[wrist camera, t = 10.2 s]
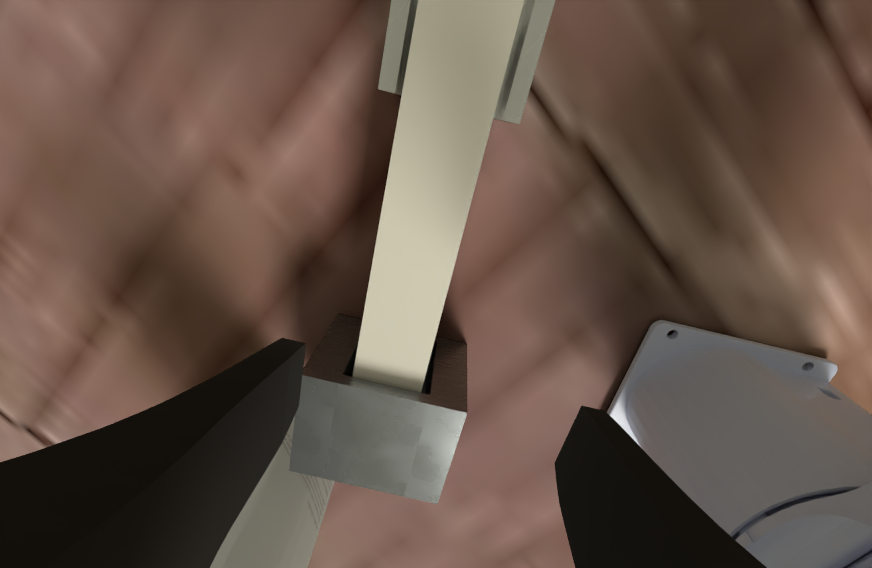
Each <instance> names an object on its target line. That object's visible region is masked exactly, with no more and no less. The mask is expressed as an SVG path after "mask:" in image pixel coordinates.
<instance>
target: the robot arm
mask: <svg viewBox="0 0 872 568" xmlns="http://www.w3.org/2000/svg"><path fill="white" fill-rule="evenodd" d="M671 330H674V333H673V334H671V335H667V333H668V332H669V331H671ZM305 347H306V343H302V342H298V341H293V340H289V339H285V338H281V339H279V340H277V341H276V342H274V343H272V344H270V345H269V346H267V347H265V348H263V349H262V350H260V351H258V352H257V353H255V354H253V355H251V356H250V357H248V358H246V359H245V360H243V361H241V362H239V363H238V364H236V365H234V366H232V367H231V368H229V369H227V370H225V371H223V372H222V373H220V374H218V375H216V376H214V377H213V378H211V379H209V380H207V381H205V382H203V383H201V384H199V385H197V386H195V387H193V388H191V389H189V390H187V391H185V392H183V393H181V394H179V395H177V396H175V397H173V398H171V399H169V400H167V401H165V402H162V403H160V404H158V405H156V406H154V407H151V408H149V409H147V410H145V411H142V412H140V413H138V414H135V415H133V416H130V417H128V418H125V419H123V420H121V421H118V422H116V423H113V424H111V425H108V426H106V427H103V428H100V429H98V430H95V431H92V432H89V433H86V434H84V435H81V436H78V437H75V438H72V439H69V440H67V441H64V442H61V443H58V444H55V445H52V446H50V447H47V448H44V449H41V450H38V451H35V452H32V453H29V454H26V455H23V456H20V457H16V458H13V459H10V460H7V461H3V462H0V568H210V566H211V564H212V562H213V560H214V558H215V556H216V554H217V552H218V550H219V549H220V547H221V545H222V543H223V541H224V540H225V538H226V536H227V534H228V532H229V531H230V529H231V527H232V526H233V524H234V522H235V521H236V519H237V517H238V516H239V514H240V512H241V511H242V509H243V507H244V506H245V504H246V502H247V501H248V499H249V498H250V496H251V494H252V493H253V491H254V489H255V488H256V486H257V484H258V483H259V481H260V479H261V478H262V476H263V474H264V473H265V471H266V469H267V468H268V466H269V464H270V463H271V461H272V459H273V458H274V456H275V454H276V453H277V451H278V449H279V448H280V446H281V444H282V443H283V440H284V438H285V436H286V434H287V432H288V430H289V428H290V425H291V423H292V421H293V419H294V416H295V414H296V412H297V410H298V407H299V401H300V392H301V383H302V374H303V365H304V356H305ZM805 363H807V364H806V365H805V366H803V365H804V364H805ZM836 372H837V365H836V364H835V363H833V362H832V361H830V360H828V359H825V358H820V357H816V356H812V355H808V354H804V353H799V352H795V351H791V350H787V349H783V348H778V347H774V346H770V345H766V344H762V343H757V342H753V341H749V340H745V339H741V338H737V337H732V336H728V335H724V334H720V333H716V332H711V331H707V330H703V329H699V328H695V327H690V326H686V325H682V324H678V323H674V322H669V321H665V320H659V321H656V322H654V323H653V324H652V325H651V326H650V328H649V330H648V332H647V334H646V336H645V338H644V340H643V342H642V344H641V346H640V348H639V350H638V352H637V354H636V356H635V357H634V359H633V361H632V363H631V365H630V367H629V369H628V371H627V373H626V375H625V377H624V379H623V381H622V383H621V385H620V387H619V389H618V391H617V393H616V395H615V397H614V399H613V401H612V403H611V405H610V407H609V409H608V411H607V413H606V412H605V411H603V410H599V409H594V408H590V407H585V406H581V408H580V410H579V412H578V415H577V417H576V419H575V421H574V423H573V425H572V427H571V429H570V432H569V434H568V436H567V438H566V440H565V442H564V444H563V446H562V449H561V451H560V453H559V455H558V457H557V459H556V461H555V471H556V481H557V489H558V496H559V503H560V508H561V512H562V516H563V520H564V524H565V528H566V532H567V537H568V540H569V544H570V548H571V552H572V556H573V560H574V564H575V568H872V414H870V413H869V412H868V411H866V410H865V409H863V408H862V407H861V406H859V405H858V404H857V403H855V402H854V401H853V400H851V399H850V398H849V397H847V396H846V395H845V394H843V393H842V392H840V391H839V390H838V389H836V388H835V387H834V386H832V385H831V384H830V383H829V382H830V380H831V379H832V378H833V376H834V375H835V374H836Z"/></svg>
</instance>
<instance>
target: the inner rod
mask: <svg viewBox="0 0 872 568" xmlns="http://www.w3.org/2000/svg"><path fill="white" fill-rule="evenodd" d="M523 3H524V0H418V4H417V10H416V16H415V22H414V27H413V33H412V39H411V45H410V50H409V56H408V62H407V67H406V73H405V79H404V85H403V90H402V96H401V102H400V107H399V113H398V119H397V125H396V130H395V136H394V142H393V147H392V153H391V159H390V165H389V170H388V176H387V182H386V188H385V193H384V199H383V205H382V210H381V216H380V222H379V228H378V233H377V239H376V245H375V250H374V256H373V262H372V268H371V273H370V279H369V285H368V291H367V296H366V302H365V308H364V313H363V319H362V325H361V331H360V336H359V342H358V348H357V353H356V359H355V365H354V371H353V376H352V377H355V378H359V379H364V380H368V381H372V382H377V383H381V384H386V385H390V386H394V387H399V388H403V389H407V390H412V391H416V392H420V393H421V391H422V387H423V383H424V379H425V375H426V372H427V368H428V364H429V360H430V356H431V353H432V349H433V345H434V341H435V337H436V334H437V330H438V326H439V322H440V318H441V315H442V311H443V307H444V303H445V299H446V296H447V292H448V288H449V284H450V280H451V277H452V273H453V269H454V265H455V261H456V258H457V254H458V250H459V246H460V242H461V239H462V235H463V231H464V227H465V224H466V220H467V216H468V212H469V208H470V205H471V201H472V197H473V193H474V189H475V186H476V182H477V178H478V174H479V170H480V167H481V163H482V159H483V155H484V151H485V148H486V144H487V140H488V136H489V132H490V129H491V125H492V121H493V117H494V113H495V110H496V106H497V102H498V98H499V94H500V91H501V87H502V83H503V79H504V75H505V72H506V68H507V64H508V60H509V57H510V53H511V49H512V45H513V41H514V38H515V34H516V30H517V26H518V22H519V19H520V15H521V11H522V7H523Z"/></svg>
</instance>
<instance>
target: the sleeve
mask: <svg viewBox="0 0 872 568" xmlns="http://www.w3.org/2000/svg"><path fill="white" fill-rule="evenodd" d="M554 3H555V0H524V3H523V7H522V11H521V15H520V19H519V22H518V26H517V30H516V34H515V38H514V41H513V45H512V49H511V53H510V57H509V60H508V64H507V68H506V72H505V75H504V79H503V83H502V87H501V91H500V94H499V98H498V102H497V106H496V110H495V113H494V117H493V119H497V120H501V121H505V122H509V123H515V124H520V121H521V117H522V114H523V111H524V107H525V104H526V100H527V97H528V93H529V90H530V86H531V83H532V79H533V76H534V73H535V69H536V66H537V62H538V59H539V55H540V52H541V48H542V45H543V41H544V38H545V35H546V31H547V28H548V24H549V21H550V17H551V14H552V10H553V7H554ZM417 4H418V0H391V6H390V13H389V20H388V26H387V33H386V39H385V46H384V52H383V59H382V66H381V72H380V79H379V85H378V89H379V90H383V91H386V92H389V93H393V94H397V95H401V96H402V90H403V85H404V79H405V73H406V67H407V62H408V56H409V50H410V45H411V39H412V33H413V27H414V22H415V16H416V10H417Z"/></svg>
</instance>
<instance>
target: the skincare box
mask: <svg viewBox="0 0 872 568" xmlns="http://www.w3.org/2000/svg"><path fill="white" fill-rule="evenodd" d="M294 420H295V416H294V419H293V421H292V423H291V425H290V428H289V430H288V432H287V434H286V436H285V438H284V440H283V443H282V444H281V446H280V448H279V449H278V451H277V453H276V454H275V456H274V458H273V459H272V461H271V463H270V464H269V466H268V468H267V469H266V471H265V473H264V474H263V476H262V478H261V479H260V481H259V483H258V484H257V486H256V488H255V489H254V491H253V493H252V494H251V496H250V498H249V499H248V501H247V502H246V504H245V506H244V507H243V509H242V511H241V512H240V514H239V516H238V517H237V519H236V521H235V522H234V524H233V526H232V527H231V529H230V531H229V532H228V534H227V536H226V538H225V540H224V541H223V543H222V545H221V547H220V549H219V550H218V552H217V554H216V556H215V558H214V560H213V562H212V564H211V566H210V568H308V564H309V561H310V558H311V555H312V552H313V548H314V545H315V542H316V539H317V536H318V533H319V529H320V526H321V523H322V520H323V517H324V513H325V510H326V507H327V504H328V501H329V498H330V494H331V491H332V488H333V485H334V483H335V481H332V480H328V479H323V478H319V477H314V476H310V475H305V474H301V473H296V472H292V471H289V466H290V457H291V448H292V439H293V429H294Z"/></svg>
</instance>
